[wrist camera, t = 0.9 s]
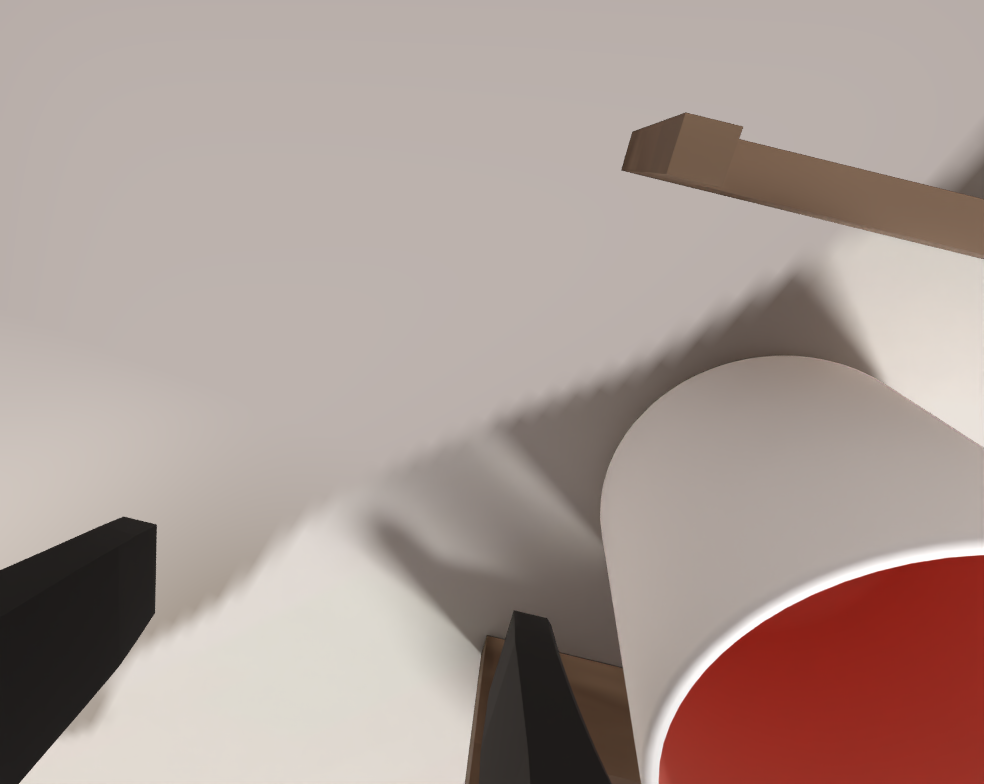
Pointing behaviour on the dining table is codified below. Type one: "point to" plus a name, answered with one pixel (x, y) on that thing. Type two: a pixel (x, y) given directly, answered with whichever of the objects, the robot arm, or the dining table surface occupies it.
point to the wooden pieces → (775, 183)
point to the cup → (798, 581)
